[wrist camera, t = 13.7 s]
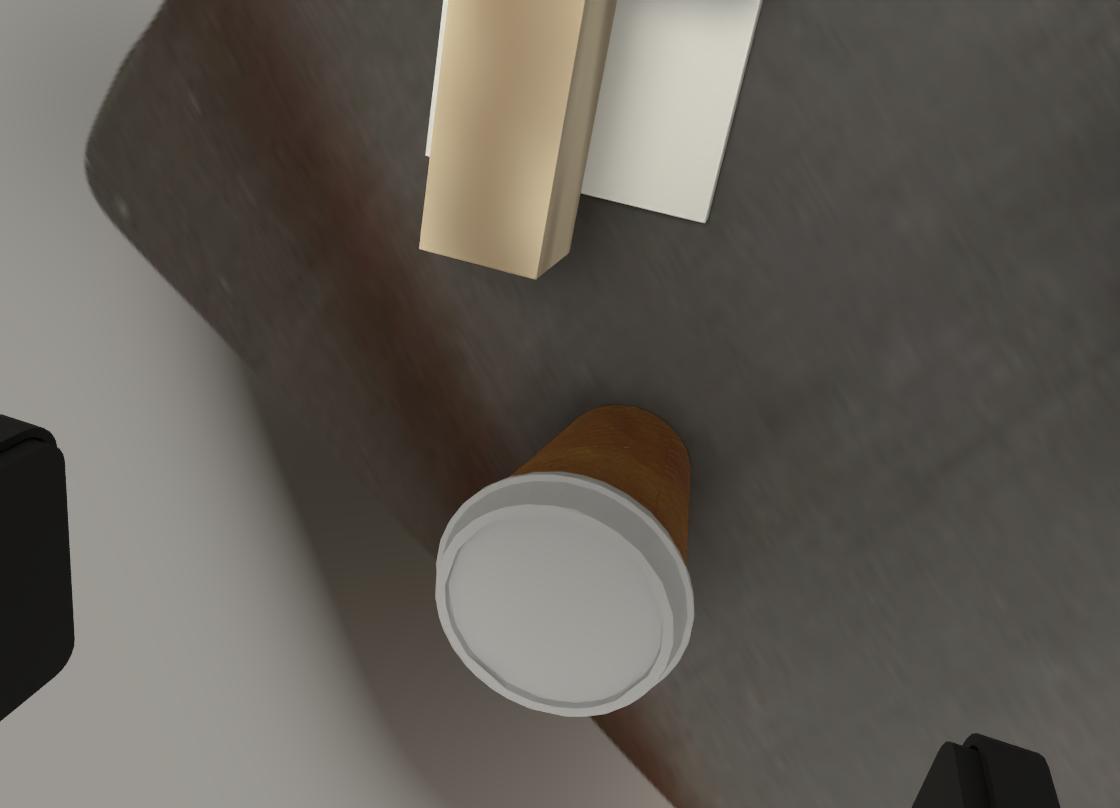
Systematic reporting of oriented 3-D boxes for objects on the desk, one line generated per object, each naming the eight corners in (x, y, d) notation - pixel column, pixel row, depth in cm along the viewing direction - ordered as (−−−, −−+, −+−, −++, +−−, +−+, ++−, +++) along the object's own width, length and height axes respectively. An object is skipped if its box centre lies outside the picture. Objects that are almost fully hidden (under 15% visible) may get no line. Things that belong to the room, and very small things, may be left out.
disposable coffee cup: (762, 422, 39) (734, 567, 29) (680, 588, 44) (629, 769, 33) (561, 336, 41) (463, 445, 30) (500, 506, 45) (394, 655, 34)
